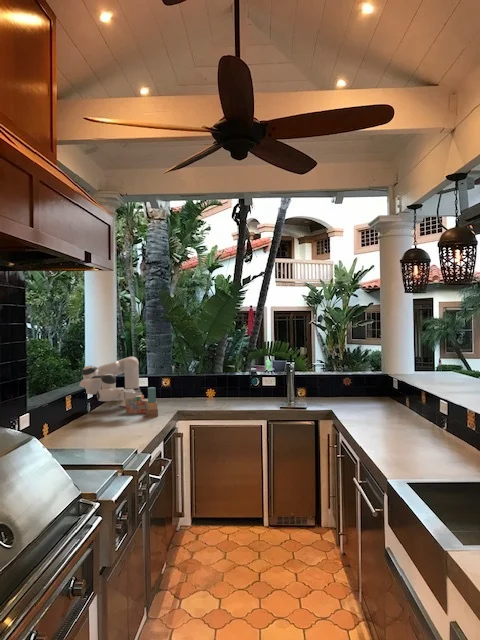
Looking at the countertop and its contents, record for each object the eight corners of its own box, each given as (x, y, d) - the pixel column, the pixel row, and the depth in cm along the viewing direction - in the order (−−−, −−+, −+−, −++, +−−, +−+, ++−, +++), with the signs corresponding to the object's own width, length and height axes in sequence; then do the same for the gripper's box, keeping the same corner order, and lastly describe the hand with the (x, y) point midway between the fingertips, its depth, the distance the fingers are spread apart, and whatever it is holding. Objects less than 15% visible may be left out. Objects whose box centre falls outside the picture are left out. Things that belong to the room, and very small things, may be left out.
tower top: (146, 408, 344) (146, 401, 344) (156, 407, 346) (156, 400, 346) (147, 410, 338) (147, 403, 338) (157, 409, 339) (157, 402, 339)
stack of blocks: (156, 411, 358) (155, 395, 358) (153, 413, 352) (152, 396, 352) (129, 411, 362) (128, 395, 362) (125, 413, 356) (125, 396, 356)
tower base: (145, 415, 344) (145, 408, 344) (156, 414, 347) (156, 407, 347) (146, 417, 337) (146, 410, 337) (158, 416, 339) (158, 409, 339)
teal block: (148, 401, 343) (147, 387, 343) (155, 401, 345) (154, 387, 345) (148, 402, 339) (148, 388, 339) (155, 402, 340) (155, 388, 340)
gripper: (120, 396, 345) (140, 395, 349) (122, 400, 326) (142, 399, 330) (120, 387, 345) (140, 386, 349) (121, 391, 326) (142, 390, 330)
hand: (141, 392), depth 339 cm, fingers open, 8 cm apart
